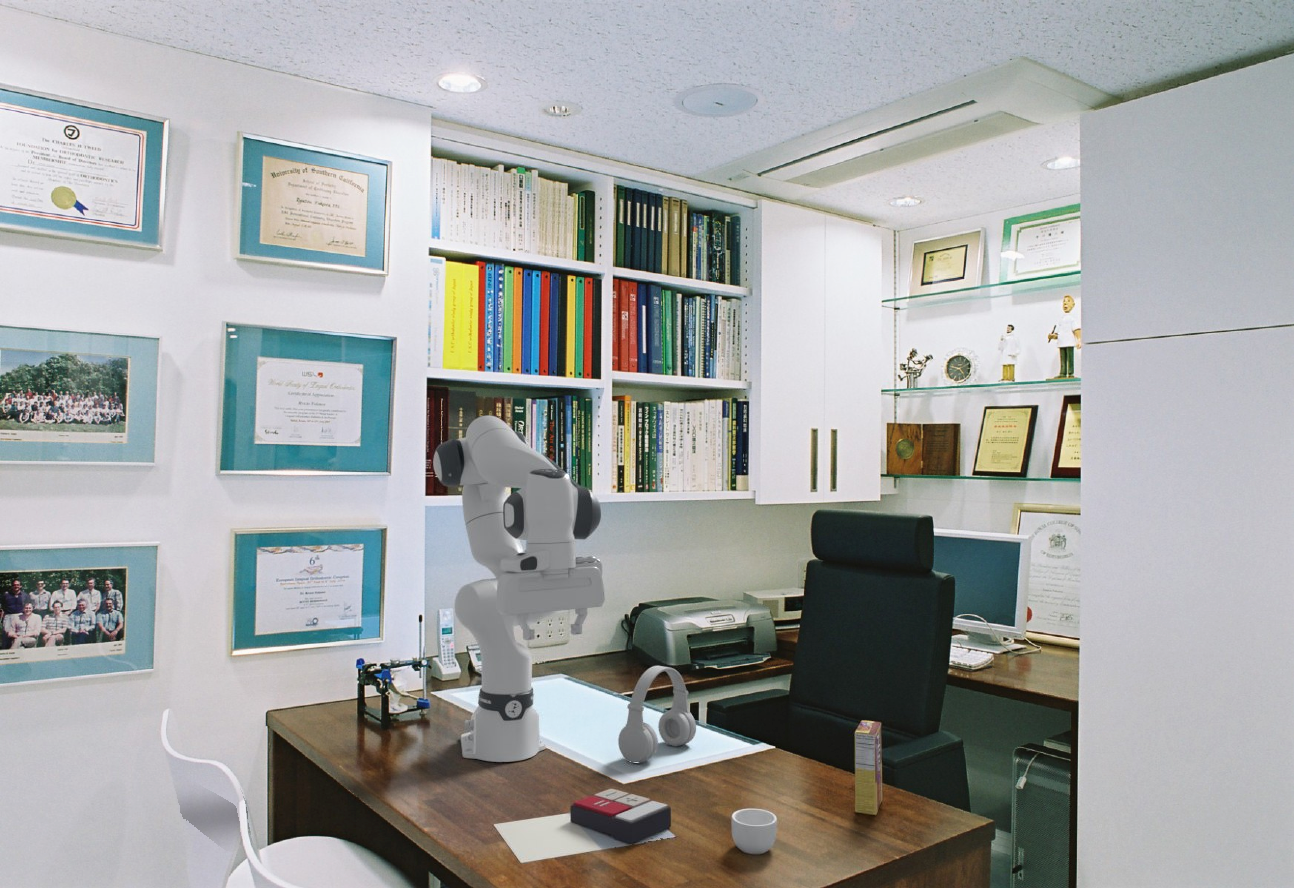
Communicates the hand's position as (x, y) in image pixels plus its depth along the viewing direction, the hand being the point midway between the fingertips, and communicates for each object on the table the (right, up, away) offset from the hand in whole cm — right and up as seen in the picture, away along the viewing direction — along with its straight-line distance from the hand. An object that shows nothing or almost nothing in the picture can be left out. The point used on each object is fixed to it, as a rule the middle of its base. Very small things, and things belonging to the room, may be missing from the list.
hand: (553, 636), depth 163 cm
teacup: (+35, -35, -7) cm, 50 cm away
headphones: (+19, -36, +43) cm, 59 cm away
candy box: (+59, -36, +13) cm, 70 cm away
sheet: (+6, -34, -2) cm, 34 cm away
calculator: (+12, -34, +1) cm, 36 cm away
